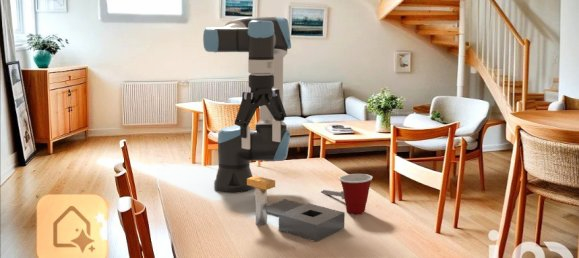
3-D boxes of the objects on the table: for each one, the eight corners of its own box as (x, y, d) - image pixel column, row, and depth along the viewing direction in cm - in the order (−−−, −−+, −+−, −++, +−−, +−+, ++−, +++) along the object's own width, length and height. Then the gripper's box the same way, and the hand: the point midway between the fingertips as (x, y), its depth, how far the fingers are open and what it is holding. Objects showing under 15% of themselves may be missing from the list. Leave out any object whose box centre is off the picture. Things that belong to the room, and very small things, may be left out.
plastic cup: (345, 204, 188) (346, 170, 186) (376, 209, 183) (377, 174, 181) (333, 214, 178) (333, 178, 176) (364, 219, 174) (365, 182, 171)
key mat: (257, 210, 181) (257, 208, 181) (285, 200, 192) (285, 199, 192) (295, 221, 171) (295, 219, 171) (321, 210, 182) (321, 208, 182)
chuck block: (278, 230, 164) (278, 214, 163) (307, 218, 174) (307, 203, 174) (316, 241, 155) (316, 225, 154) (344, 228, 166) (344, 212, 165)
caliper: (355, 208, 185) (355, 190, 184) (352, 208, 185) (353, 190, 184) (323, 192, 203) (323, 175, 202) (320, 192, 202) (321, 176, 201)
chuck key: (247, 222, 171) (246, 178, 168) (256, 218, 174) (255, 175, 171) (266, 228, 166) (266, 183, 163) (275, 224, 169) (275, 180, 166)
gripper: (240, 77, 150) (241, 153, 153) (297, 72, 169) (297, 140, 172) (221, 76, 154) (222, 149, 158) (279, 71, 173) (279, 137, 177)
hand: (261, 145), depth 165 cm, fingers open, 13 cm apart
